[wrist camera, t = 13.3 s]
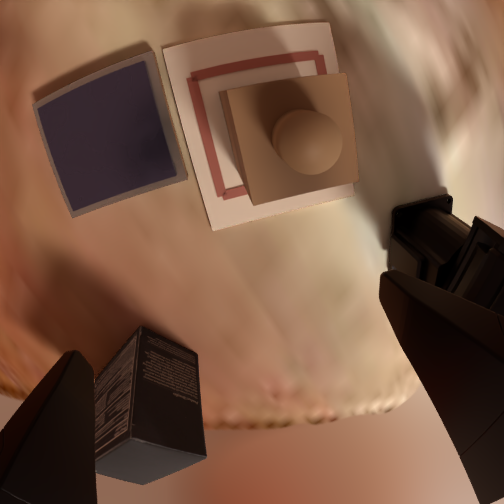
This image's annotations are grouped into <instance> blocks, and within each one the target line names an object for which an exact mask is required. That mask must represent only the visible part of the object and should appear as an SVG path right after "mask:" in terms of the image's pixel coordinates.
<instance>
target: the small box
mask: <svg viewBox="0 0 504 504" xmlns="http://www.w3.org/2000/svg"><path fill="white" fill-rule="evenodd" d="M94 394H95V469H96V473H98V474H102V475H105V476H108V477H112V478H116V479H119V480H123V481H127V482H132V483H136V484H141V485H144V484H147V483H150V482H152V481H155V480H158V479H160V478H163V477H165V476H167V475H170V474H172V473H175V472H177V471H179V470H182V469H184V468H186V467H188V466H191V465H193V464H195V463H197V462H199V461H201V460H204V459H206V458H207V454H206V446H205V436H204V427H203V417H202V406H201V394H200V382H199V365H198V355H197V354H196V353H194V352H192V351H190V350H188V349H186V348H184V347H182V346H180V345H178V344H176V343H174V342H172V341H170V340H168V339H166V338H164V337H162V336H160V335H158V334H156V333H154V332H153V331H151V330H149V329H147V328H145V327H143V326H140V327H139V328H138V329H137V330H136V332H135V333H134V334H133V335H132V336H131V337H130V338H129V339H128V341H127V342H126V343H125V344H124V345H123V347H121V349H120V350H119V351H118V352H117V354H116V355H115V356H114V357H113V358H112V360H111V361H110V362H109V363H108V365H107V366H106V367H105V368H104V369H103V371H102V372H101V373H100V374H99V376H98V377H97V378H96V379H95V383H94Z"/></svg>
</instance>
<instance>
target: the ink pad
mask: <svg viewBox="0 0 504 504" xmlns="http://www.w3.org/2000/svg"><path fill="white" fill-rule="evenodd" d="M32 106H33V110H34V113H35V117H36V120H37V124H38V127H39V130H40V134H41V137H42V140H43V143H44V146H45V149H46V152H47V155H48V158H49V161H50V164H51V167H52V169H53V172H54V175H55V177H56V180H57V183H58V185H59V188H60V190H61V193H62V195H63V198H64V200H65V203H66V205H67V207H68V210H69V212H70V214H71V217H72V218H75V217H77V216H80V215H82V214H85V213H88V212H90V211H93V210H96V209H99V208H101V207H104V206H107V205H110V204H113V203H116V202H118V201H121V200H124V199H127V198H130V197H133V196H136V195H139V194H142V193H145V192H148V191H152V190H155V189H158V188H161V187H164V186H168V185H171V184H174V183H178V182H181V181H184V180H188V173H187V170H186V166H185V163H184V159H183V156H182V152H181V149H180V146H179V142H178V138H177V135H176V131H175V128H174V124H173V121H172V117H171V113H170V110H169V106H168V102H167V98H166V95H165V91H164V87H163V83H162V79H161V76H160V72H159V68H158V64H157V60H156V56H155V52H153V51H149V52H146V53H143V54H140V55H137V56H134V57H132V58H129V59H126V60H124V61H121V62H118V63H116V64H113V65H111V66H108V67H106V68H104V69H101V70H99V71H97V72H94V73H92V74H90V75H88V76H85V77H83V78H81V79H79V80H77V81H75V82H73V83H71V84H69V85H67V86H65V87H63V88H61V89H59V90H57V91H55V92H53V93H52V94H50V95H48V96H46V97H44V98H43V99H41V100H39V101H37V102H36V103H34V104H32Z"/></svg>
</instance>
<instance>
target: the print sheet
mask: <svg viewBox="0 0 504 504" xmlns="http://www.w3.org/2000/svg"><path fill="white" fill-rule="evenodd" d="M162 50H163V54H164V58H165V62H166V66H167V70H168V73H169V77H170V81H171V85H172V89H173V93H174V97H175V100H176V104H177V108H178V112H179V115H180V119H181V123H182V126H183V130H184V134H185V137H186V141H187V145H188V148H189V152H190V155H191V159H192V162H193V166H194V169H195V173H196V176H197V180H198V183H199V187H200V190H201V194H202V197H203V200H204V204H205V207H206V210H207V214H208V217H209V220H210V224H211V227H212V230H213V231H216V230H219V229H223V228H227V227H231V226H234V225H238V224H242V223H246V222H250V221H253V220H257V219H261V218H265V217H269V216H273V215H277V214H281V213H285V212H289V211H293V210H297V209H301V208H305V207H309V206H313V205H317V204H321V203H325V202H329V201H334V200H338V199H342V198H346V197H351V196H354V183H349V184H345V185H340V186H336V187H331V188H327V189H322V190H318V191H314V192H309V193H305V194H301V195H297V196H292V197H288V198H284V199H280V200H276V201H272V202H268V203H264V204H260V205H256V206H253V204H252V202H251V200H250V198H249V196H248V193H247V191H246V189H245V187H244V185H243V182H242V180H241V178H240V176H239V174H238V171H237V168H236V164H235V160H234V155H233V151H232V147H231V143H230V139H229V134H228V130H227V126H226V122H225V118H224V113H223V109H222V105H221V101H220V97H219V93H218V92H219V91H224V90H228V89H233V88H237V87H242V86H247V85H252V84H257V83H263V82H269V81H275V80H281V79H288V78H295V77H303V76H312V75H323V74H337V73H340V72H339V67H338V62H337V56H336V51H335V46H334V42H333V37H332V33H331V28H330V24H329V22H323V23H303V24H290V25H280V26H271V27H263V28H256V29H249V30H243V31H237V32H231V33H226V34H221V35H216V36H212V37H207V38H203V39H199V40H194V41H190V42H187V43H183V44H179V45H176V46H172V47H169V48H165V49H162Z"/></svg>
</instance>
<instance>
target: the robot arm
mask: <svg viewBox="0 0 504 504" xmlns="http://www.w3.org/2000/svg"><path fill="white" fill-rule="evenodd" d="M447 200H448V201H447ZM452 204H453V198H452V196H450V195H449V194H445V195H441V196H437V197H433V198H429V199H425V200H421V201H417V202H413V203H409V204H405V205H401V206H397V207H395V208H394V209H393V211H392V227H391V237H390V256H389V262H390V269H389V270H388V271H385V272H383V273H382V274H381V276H380V287H379V299H380V303H381V305H382V307H383V309H384V311H385V313H386V315H387V317H388V320H389V322H390V324H391V326H392V328H393V331H394V333H395V335H396V337H397V339H398V341H399V343H400V345H401V347H402V349H403V351H404V353H405V354H406V356H407V358H408V359H409V361H410V363H411V365H412V366H413V368H414V370H415V372H416V373H417V375H418V377H419V379H420V381H421V382H422V384H423V386H424V388H425V390H426V391H427V393H428V395H429V397H430V399H431V400H432V403H433V404H434V406H435V408H436V410H437V412H438V414H439V416H440V418H441V419H442V422H443V424H444V426H445V428H446V430H447V432H448V434H449V436H450V438H451V440H452V442H453V444H454V446H455V448H456V450H457V452H458V455H459V456H460V459H461V461H462V463H463V466H464V468H465V470H466V473H467V475H468V477H469V479H470V482H471V484H472V486H473V489H474V491H475V494H476V496H477V499H478V501H479V503H480V504H490V503H493V502H495V501H497V500H499V499H501V498H503V497H504V230H503V229H501V228H500V227H498V226H496V225H494V224H492V223H490V222H488V221H486V220H484V219H482V218H480V217H477V216H475V217H474V220H473V222H472V223H473V225H472V227H470V226H469V225H468V224H466V223H465V222H463V221H462V220H460V219H459V218H458V217H456V216H455V215H453V214H452ZM398 212H399V214H398V215H397V213H398ZM0 504H97V491H96V469H95V394H94V371H93V368H92V366H91V365H90V364H89V363H88V361H87V360H86V359H85V358H84V356H83V355H82V354H81V353H80V352H79V351H78V350H72V351H67V352H65V353H64V354H63V356H62V357H61V358H60V359H59V360H58V361H57V362H56V364H55V365H54V366H53V367H52V368H51V369H50V371H49V372H48V373H47V374H46V375H45V376H44V378H43V379H42V380H41V381H40V382H39V384H38V385H37V386H36V387H35V388H34V390H33V391H32V392H31V393H30V395H29V396H28V397H27V398H26V399H25V401H24V402H23V403H22V404H21V406H20V407H19V408H18V410H17V411H16V412H15V413H14V415H13V416H12V417H11V419H10V420H9V421H8V422H7V424H6V425H5V426H4V429H2V430H1V432H0Z"/></svg>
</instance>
